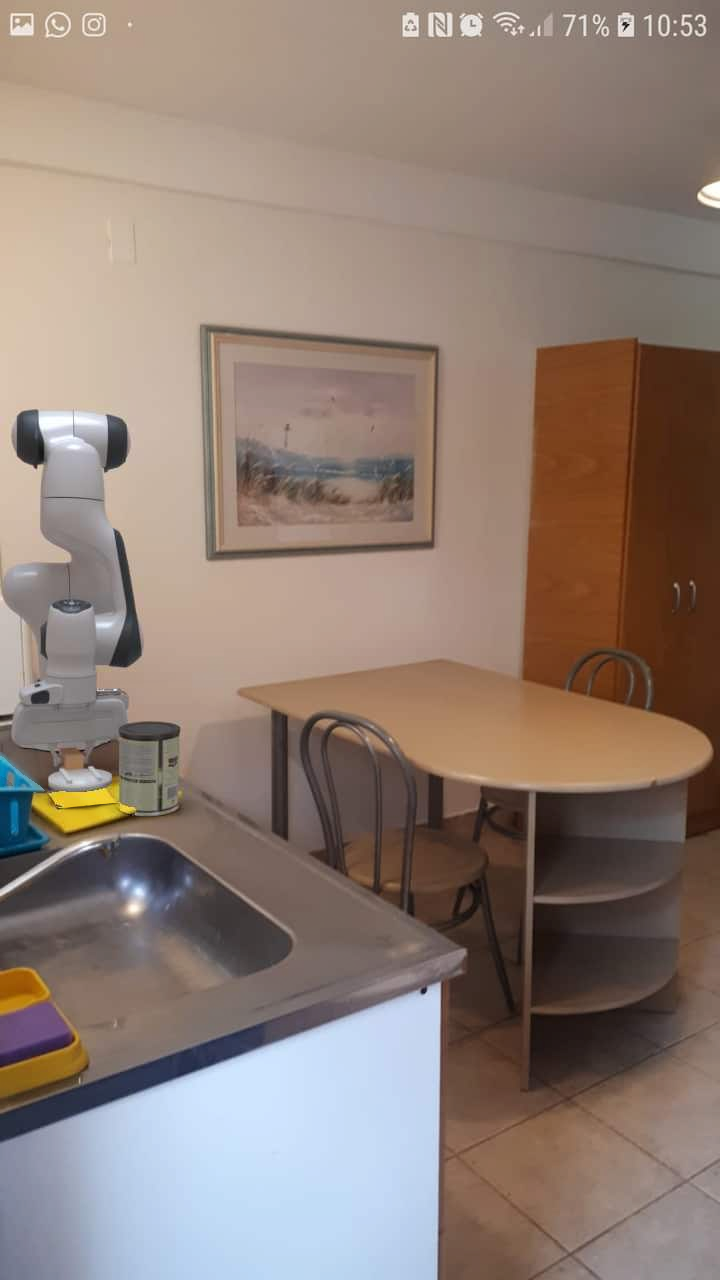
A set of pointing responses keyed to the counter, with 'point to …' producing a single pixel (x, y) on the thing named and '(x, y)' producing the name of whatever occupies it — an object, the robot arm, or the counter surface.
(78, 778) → the lid
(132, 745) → the coffee can
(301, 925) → the counter surface
